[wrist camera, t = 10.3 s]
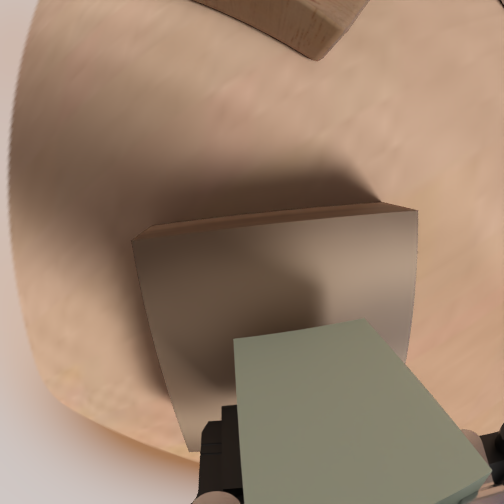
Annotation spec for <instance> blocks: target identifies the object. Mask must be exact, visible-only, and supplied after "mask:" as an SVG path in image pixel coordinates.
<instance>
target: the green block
mask: <svg viewBox="0 0 504 504" xmlns="http://www.w3.org/2000/svg"><path fill="white" fill-rule="evenodd" d="M233 341H234V360H235V378H236V395H237V411H238V426H239V441H240V455H241V468H242V481H243V494H244V504H458V503H459V502H460V500H461V499H462V498H464V497H466V496H468V495H470V494H472V493H474V492H476V491H478V490H479V489H480V487H481V486H482V485H483V483H484V482H485V480H486V479H487V478H488V476H489V475H490V473H491V472H492V469H491V468H490V467H489V465H488V464H487V463H486V461H485V460H484V459H483V458H482V456H481V455H480V454H479V453H478V451H477V450H476V449H475V447H474V446H473V445H472V444H471V442H470V441H469V440H468V439H467V437H466V436H465V435H464V434H463V432H462V431H461V430H460V429H459V428H458V426H457V425H456V424H455V423H454V421H453V420H452V419H451V418H450V417H449V415H448V414H447V413H446V412H445V411H444V409H443V408H442V407H441V406H440V405H439V403H438V402H437V401H436V400H435V399H434V397H433V396H432V395H431V394H430V393H429V391H428V390H427V389H426V388H425V387H424V386H423V384H422V383H421V382H420V381H419V380H418V378H417V377H416V376H415V375H414V374H413V373H412V372H411V370H410V369H409V368H408V367H407V366H406V365H405V363H404V362H403V361H402V360H401V359H400V358H399V357H398V355H397V354H396V353H395V352H394V351H393V350H392V349H391V347H390V346H389V345H388V344H387V343H386V342H385V341H384V340H383V338H382V337H381V336H380V335H379V334H378V333H377V332H376V331H375V329H374V328H373V327H372V326H371V325H370V324H369V323H368V322H367V321H366V319H365V318H362V319H357V320H352V321H347V322H342V323H336V324H331V325H325V326H319V327H313V328H307V329H301V330H295V331H288V332H281V333H275V334H267V335H260V336H252V337H244V338H236V339H233Z"/></svg>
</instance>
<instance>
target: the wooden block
mask: <svg viewBox="0 0 504 504" xmlns="http://www.w3.org/2000/svg"><path fill="white" fill-rule="evenodd" d="M194 1H196V2H199V3H202V4H204V5H206V6H209V7H211V8H214V9H216V10H218V11H221V12H223V13H225V14H228V15H230V16H232V17H234V18H236V19H238V20H241V21H243V22H245V23H247V24H249V25H251V26H253V27H255V28H257V29H259V30H261V31H263V32H265V33H267V34H268V35H270V36H272V37H274V38H276V39H278V40H279V41H281V42H283V43H285V44H287V45H288V46H290V47H292V48H293V49H295V50H297V51H299V52H300V53H302V54H304V55H305V56H307V57H308V58H310V59H312V60H315V61H319V60H321V59H322V58H323V57H324V56H325V55H326V54H327V53H328V52H329V51H330V50H331V49H332V47H333V46H334V45H335V44H336V43H337V42H338V41H339V40H340V39H341V38H342V37H343V35H344V34H345V33H346V32H347V31H348V30H349V29H350V27H351V26H352V24H353V23H354V21H355V20H356V19H357V17H358V16H359V14H360V13H361V11H362V10H363V9H364V7H365V6H366V4H367V3H368V2H369V0H194Z"/></svg>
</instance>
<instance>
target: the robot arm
mask: <svg viewBox="0 0 504 504" xmlns="http://www.w3.org/2000/svg"><path fill="white" fill-rule="evenodd" d="M501 1H502V3H503V4H504V0H501ZM461 431H462V432H463V434H464V435H465V436H466V437H467V439H468V440H469V441H470V442H471V444H472V445H473V446H474V447H475V449H476V450H477V451H478V453H479V454H480V455H481V456H482V458H483V459H484V460H485V461H486V463H487V464H488V465H489V467H490V468H491V469H492V472H491V473H490V475H489V476H488V478H487V479H486V480H485V482H484V483H483V485H482V486H481V487H480V489H479V490H478V491H476V492H474V493H472V494H470V495H468V496H466V497H464V498H462V499H461V500H460V502H459V503H458V504H504V423H503V425H502V427H501V429H500V430H499V432H495V433H491V434H486V435H482V436H478V435H477V434H476V433H475V432H473V431H470V430H465V429H462V430H461ZM200 454H201V456H200V469H199V490H198V494H197V497H196V499H195V500H194V501H193V503H191V504H244V494H243V481H242V468H241V455H240V441H239V426H238V411H237V405H227V406H222V408H221V420H219V421H208V423H207V424H206V426H205V427H204V429H203V431H202V433H201V450H200Z"/></svg>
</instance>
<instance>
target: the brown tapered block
mask: <svg viewBox="0 0 504 504" xmlns="http://www.w3.org/2000/svg"><path fill="white" fill-rule="evenodd" d="M132 247H133V253H134V258H135V263H136V268H137V273H138V278H139V283H140V288H141V292H142V297H143V301H144V306H145V310H146V314H147V318H148V322H149V326H150V330H151V334H152V338H153V342H154V346H155V349H156V353H157V356H158V360H159V364H160V367H161V370H162V374H163V377H164V380H165V384H166V387H167V390H168V393H169V396H170V399H171V403H172V406H173V409H174V412H175V414H176V417H177V420H178V423H179V426H180V429H181V432H182V434H183V437H184V440H185V442H186V445H187V448H188V450H189V452H200V450H201V433H202V431H203V429H204V427H205V426H206V424H207V423H208V421H219V420H221V408H222V406H227V405H237V395H236V378H235V360H234V341H233V339H236V338H244V337H252V336H260V335H267V334H275V333H281V332H288V331H295V330H301V329H307V328H313V327H319V326H325V325H331V324H336V323H342V322H347V321H352V320H357V319H362V318H365V319H366V321H367V322H368V323H369V324H370V325H371V326H372V327H373V328H374V329H375V331H376V332H377V333H378V334H379V335H380V336H381V337H382V338H383V340H384V341H385V342H386V343H387V344H388V345H389V346H390V347H391V349H392V350H393V351H394V352H395V353H396V354H397V355H398V357H399V358H400V359H401V360H402V361H403V362H404V363H406V357H407V351H408V345H409V338H410V331H411V323H412V315H413V306H414V296H415V284H416V270H417V249H418V210H414V209H410V208H406V207H401V206H397V205H393V204H388V203H384V202H376V203H362V204H349V205H336V206H324V207H313V208H302V209H291V210H281V211H271V212H261V213H252V214H243V215H234V216H225V217H216V218H208V219H200V220H191V221H183V222H176V223H168V224H161V225H153V226H151V227H149V228H148V229H147V230H145V231H144V232H143V233H141V234H140V235H138V236H137V237H136V238H134V239H133V240H132Z"/></svg>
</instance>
